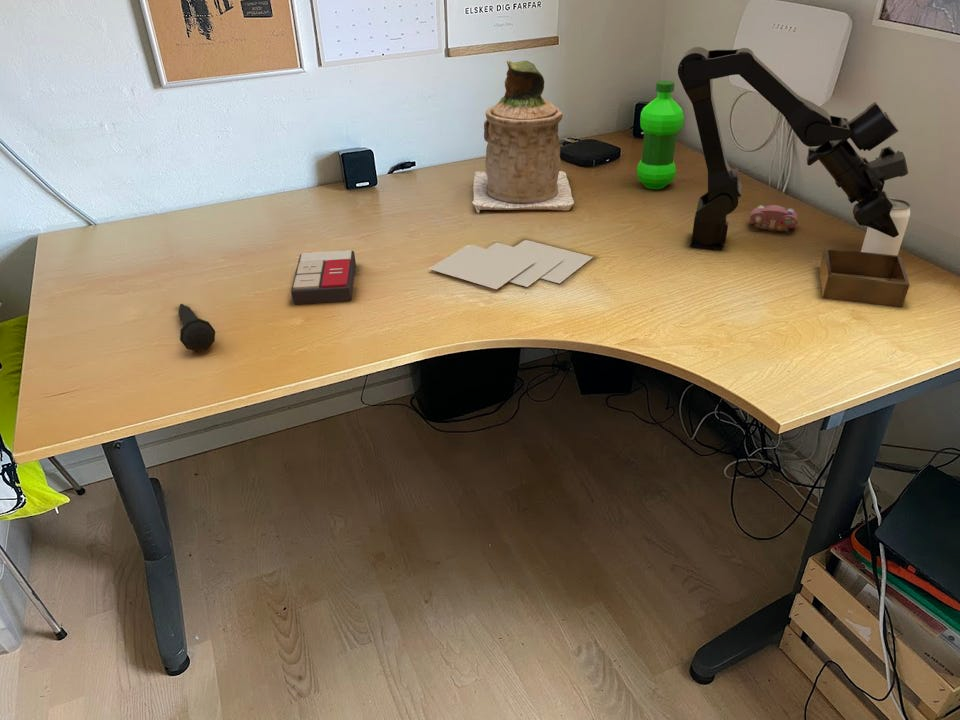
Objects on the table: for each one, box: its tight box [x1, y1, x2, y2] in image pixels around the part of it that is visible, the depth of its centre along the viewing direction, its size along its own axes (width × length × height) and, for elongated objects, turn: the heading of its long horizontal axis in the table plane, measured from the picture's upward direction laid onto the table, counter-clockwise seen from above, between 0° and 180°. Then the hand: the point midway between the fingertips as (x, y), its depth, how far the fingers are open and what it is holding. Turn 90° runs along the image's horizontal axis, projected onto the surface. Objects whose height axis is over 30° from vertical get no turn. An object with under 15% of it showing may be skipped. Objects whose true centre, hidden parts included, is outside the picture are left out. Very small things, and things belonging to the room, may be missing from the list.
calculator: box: [290, 249, 357, 305], centre depth 141 cm, size 11×4×15 cm
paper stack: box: [428, 239, 594, 290], centre depth 147 cm, size 23×25×1 cm
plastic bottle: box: [636, 80, 685, 190], centre depth 176 cm, size 10×10×25 cm
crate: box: [818, 247, 910, 308], centre depth 134 cm, size 13×12×4 cm
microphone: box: [178, 303, 216, 352], centre depth 128 cm, size 6×6×20 cm
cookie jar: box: [471, 59, 575, 214], centre depth 172 cm, size 25×25×32 cm
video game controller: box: [749, 204, 799, 232], centre depth 157 cm, size 10×5×7 cm, turn 68°
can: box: [860, 197, 911, 256], centre depth 141 cm, size 6×6×12 cm
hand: (893, 226), depth 140 cm, fingers open, 9 cm apart
